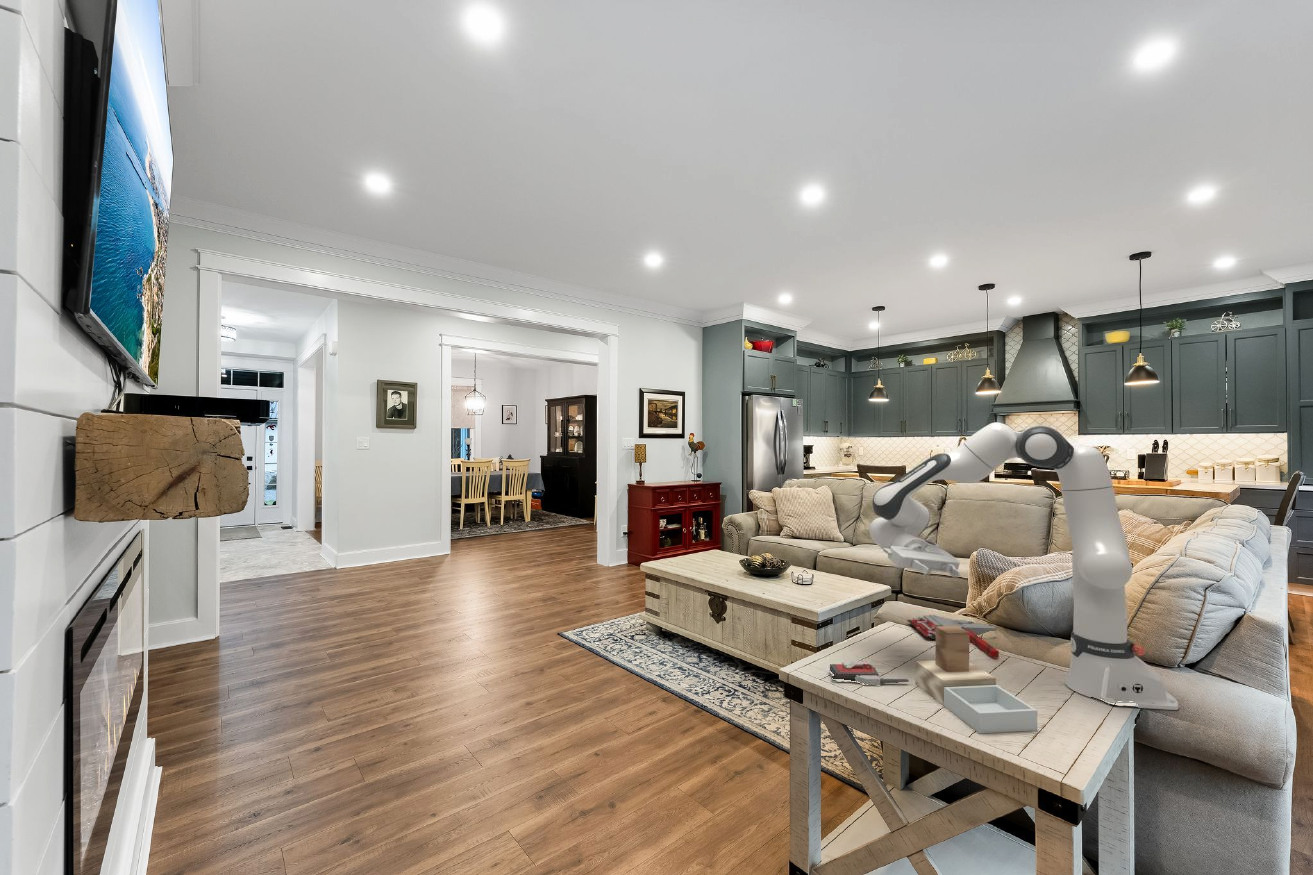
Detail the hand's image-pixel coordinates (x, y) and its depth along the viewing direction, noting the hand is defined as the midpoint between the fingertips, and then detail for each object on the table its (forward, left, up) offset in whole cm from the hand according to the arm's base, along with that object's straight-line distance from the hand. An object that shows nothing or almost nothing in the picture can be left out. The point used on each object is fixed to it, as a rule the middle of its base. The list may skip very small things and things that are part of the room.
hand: (943, 573), depth 154 cm
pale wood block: (-2, +7, -29) cm, 30 cm away
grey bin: (-7, +19, -29) cm, 35 cm away
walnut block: (-1, +6, -23) cm, 24 cm away
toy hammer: (-11, -35, -29) cm, 47 cm away
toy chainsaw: (+19, +6, -30) cm, 36 cm away
